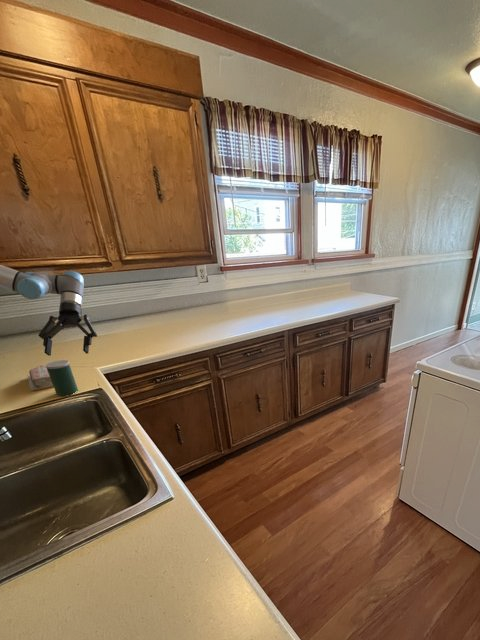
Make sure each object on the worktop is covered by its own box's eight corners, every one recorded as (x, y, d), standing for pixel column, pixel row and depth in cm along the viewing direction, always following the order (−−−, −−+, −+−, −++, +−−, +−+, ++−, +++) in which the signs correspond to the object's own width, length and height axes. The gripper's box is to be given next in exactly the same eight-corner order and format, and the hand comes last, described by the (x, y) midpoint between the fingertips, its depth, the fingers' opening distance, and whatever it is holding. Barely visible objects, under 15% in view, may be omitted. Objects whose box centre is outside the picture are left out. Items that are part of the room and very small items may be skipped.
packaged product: (57, 374, 130) (26, 380, 124) (61, 385, 132) (31, 392, 126) (52, 362, 142) (23, 367, 136) (56, 372, 144) (28, 378, 138)
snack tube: (52, 397, 122) (41, 367, 117) (61, 389, 128) (51, 360, 123) (73, 395, 123) (63, 366, 118) (81, 388, 130) (72, 359, 124)
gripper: (107, 310, 139) (105, 355, 133) (42, 312, 135) (37, 359, 129) (99, 300, 132) (96, 346, 126) (31, 302, 128) (24, 350, 122)
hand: (66, 353), depth 127 cm, fingers open, 13 cm apart
